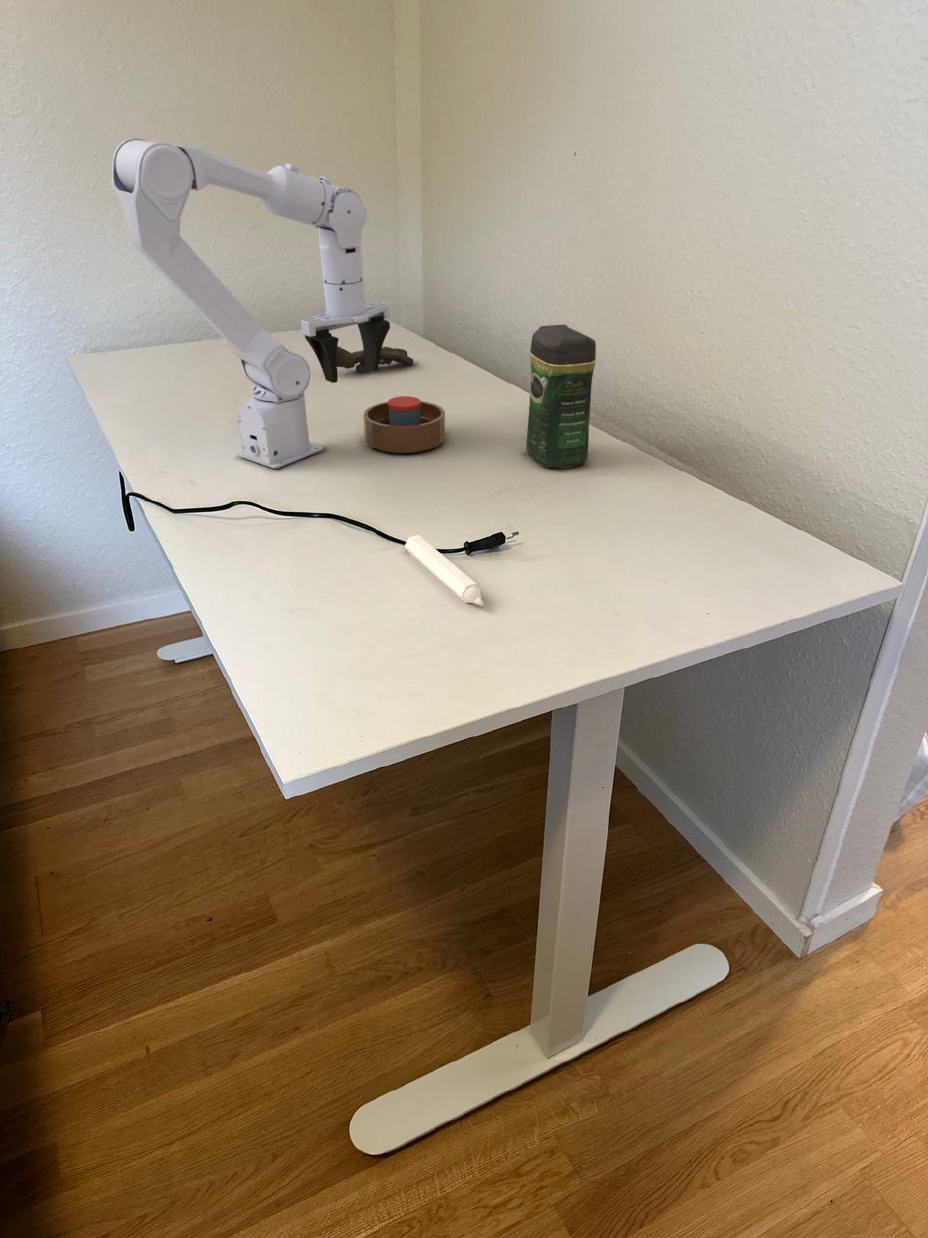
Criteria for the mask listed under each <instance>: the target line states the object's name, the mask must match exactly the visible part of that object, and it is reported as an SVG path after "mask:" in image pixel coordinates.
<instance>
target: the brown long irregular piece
mask: <svg viewBox="0 0 928 1238" xmlns="http://www.w3.org/2000/svg"><path fill="white" fill-rule="evenodd" d="M336 362H337V368H344V369H346V370H349V369H353V368H355V370H356V372H357V373H361V374H364V373H365V372H366V370H368V369H366V365H365V359H364V349H361V350H359V351H357V350H356V351H353V352H350V351H349V350H347V349H345V348H342V347H341V346H338V345H337V356H336ZM392 362H395V363H398V364H403V365H407V366H414V363H415V362H414V359H413V358H412V357H410V356H409V355H408V351H407V350H406V349H405V348H398V347H397V348H394V347H393V348H392V347H389V346H382V349H381V354H380V359H379V365H381V366H383V365H391V364H392ZM379 365H378V366H379Z"/></svg>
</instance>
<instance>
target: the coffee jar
mask: <svg viewBox="0 0 928 1238" xmlns="http://www.w3.org/2000/svg"><path fill="white" fill-rule="evenodd" d="M596 345H597V343H596V340H595V339H594V338H591V337H590V336H588V335H586V334H584V333H583V332H581V331H578V330H576V329H573V328H571V327H569V326H568V325H566V324H550V325H541V326H539V328H538V329H537V330H535V332H534V333H533V334H532V336H531V341H530V350H529V351H530V352H529V356H530V357H529V358H530V390H529V391H530V392H529V405H528V417H527V418H528V419H527V429H526V430H527V431H526V443H525V445H526V447H525V448H526V452H527V453H528V455H529V456H530V458H531V459H533V460H534V461H535V462H536V463H538V464H539V465H541V466H543V467H546V468H560V469H571V468H575V467H577V466H579V465H582V464H584V463H586V462H587V460H588V455H589V440H590V439H589V438H590V419H591V418H590V417H591V415H590V414H591V398H592V397H591V396H592V385H593V384H592V383H593V376H594V370H595V366H596V362H597V360H596V358H597V354H596V353H597V350H596V349H597V346H596Z"/></svg>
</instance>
